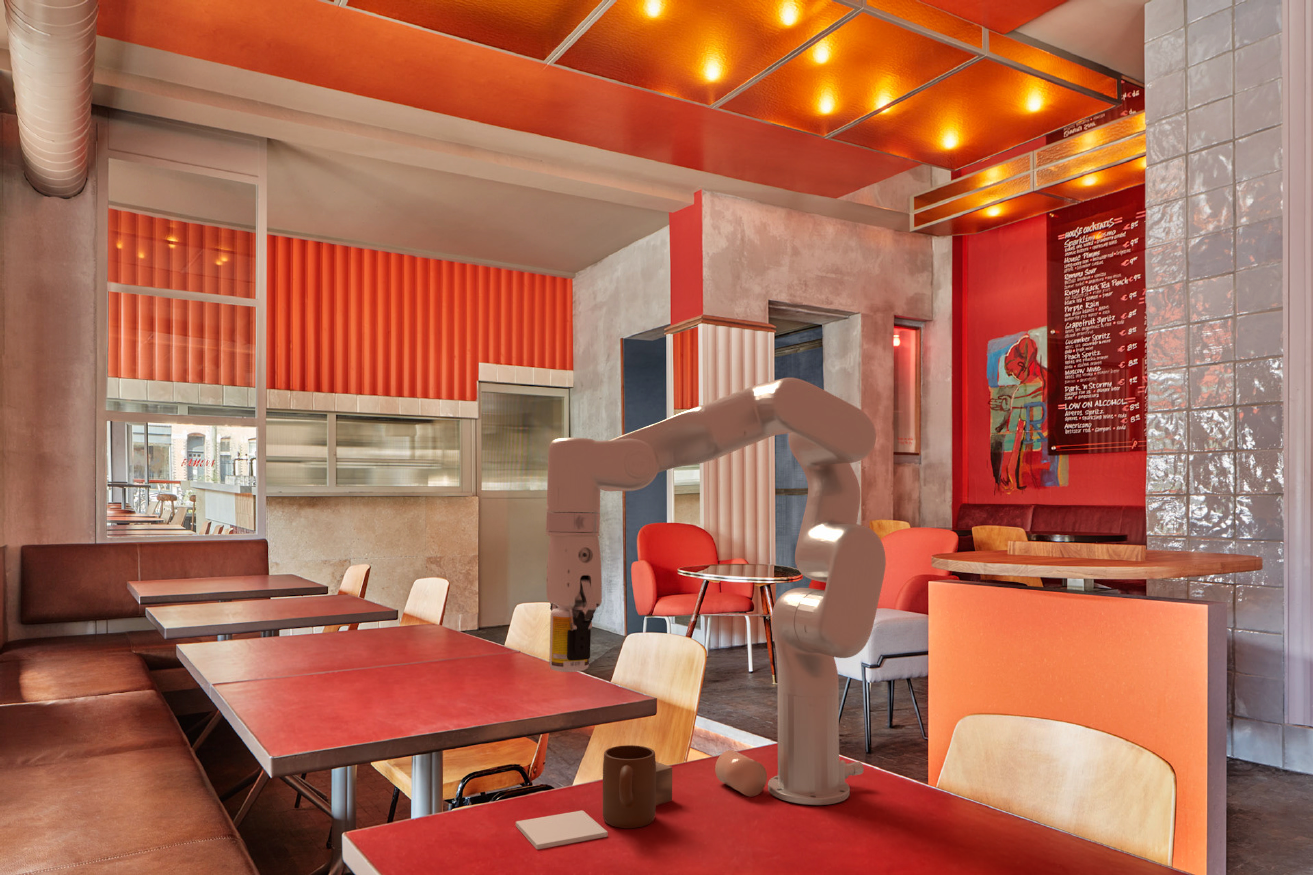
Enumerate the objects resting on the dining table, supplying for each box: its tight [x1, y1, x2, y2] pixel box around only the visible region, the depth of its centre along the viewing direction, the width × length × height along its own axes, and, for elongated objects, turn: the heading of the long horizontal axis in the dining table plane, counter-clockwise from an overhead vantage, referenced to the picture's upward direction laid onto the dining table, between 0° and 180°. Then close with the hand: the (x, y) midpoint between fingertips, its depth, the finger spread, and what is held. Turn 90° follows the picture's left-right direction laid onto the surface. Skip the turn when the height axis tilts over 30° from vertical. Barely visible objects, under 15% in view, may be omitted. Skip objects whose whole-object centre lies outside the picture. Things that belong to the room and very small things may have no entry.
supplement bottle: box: [548, 603, 590, 673], centre depth 118 cm, size 6×6×10 cm
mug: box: [602, 744, 657, 829], centre depth 119 cm, size 12×8×9 cm, turn 178°
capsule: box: [714, 750, 768, 797], centre depth 134 cm, size 5×7×5 cm
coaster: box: [515, 810, 608, 850], centre depth 116 cm, size 10×9×1 cm
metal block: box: [656, 761, 673, 806], centre depth 129 cm, size 5×5×5 cm
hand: (569, 654), depth 118 cm, fingers closed on supplement bottle, 5 cm apart
